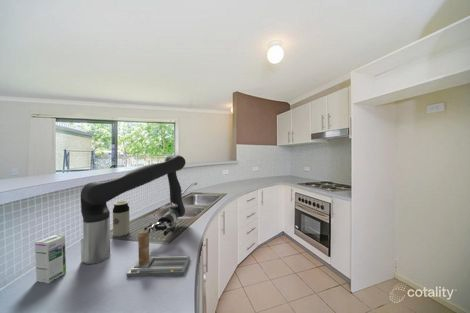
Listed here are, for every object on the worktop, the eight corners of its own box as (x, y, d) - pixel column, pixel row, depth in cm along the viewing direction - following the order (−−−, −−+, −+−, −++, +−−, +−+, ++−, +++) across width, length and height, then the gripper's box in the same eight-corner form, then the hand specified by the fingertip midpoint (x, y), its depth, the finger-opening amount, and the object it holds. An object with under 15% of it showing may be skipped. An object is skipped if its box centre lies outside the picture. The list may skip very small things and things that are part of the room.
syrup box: (48, 284, 63) (47, 243, 62) (35, 281, 64) (34, 241, 64) (66, 273, 68) (65, 235, 68) (54, 271, 69) (53, 234, 69)
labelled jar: (124, 229, 107) (124, 200, 107) (132, 232, 104) (132, 201, 104) (110, 235, 100) (109, 203, 100) (118, 238, 97) (117, 205, 96)
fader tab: (133, 268, 68) (133, 235, 68) (141, 259, 74) (141, 228, 74) (146, 268, 68) (146, 235, 68) (153, 259, 74) (153, 228, 74)
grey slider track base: (126, 277, 66) (126, 271, 66) (140, 261, 76) (140, 255, 76) (183, 275, 66) (183, 269, 66) (189, 259, 76) (189, 254, 76)
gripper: (154, 214, 97) (139, 226, 81) (180, 213, 98) (170, 225, 82) (154, 227, 97) (139, 242, 81) (180, 227, 98) (170, 241, 82)
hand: (155, 233), depth 81 cm, fingers open, 8 cm apart
